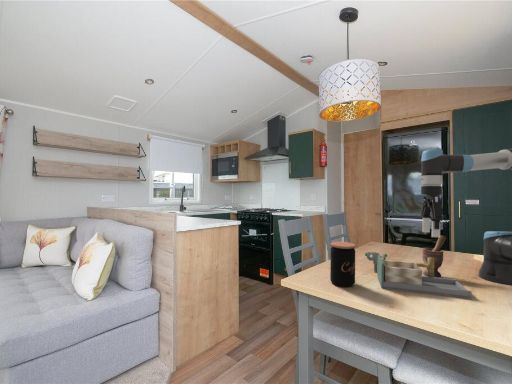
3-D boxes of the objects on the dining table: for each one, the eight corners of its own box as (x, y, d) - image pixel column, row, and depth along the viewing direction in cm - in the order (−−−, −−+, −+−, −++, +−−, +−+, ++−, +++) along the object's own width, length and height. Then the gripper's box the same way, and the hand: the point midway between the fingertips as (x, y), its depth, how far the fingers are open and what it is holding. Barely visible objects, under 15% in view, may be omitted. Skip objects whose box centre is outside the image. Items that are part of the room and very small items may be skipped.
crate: (429, 281, 117) (429, 255, 117) (438, 291, 106) (438, 262, 106) (381, 276, 124) (381, 251, 124) (384, 285, 112) (385, 257, 112)
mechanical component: (387, 273, 131) (387, 254, 130) (365, 272, 133) (365, 253, 133) (385, 272, 133) (385, 252, 133) (364, 270, 136) (364, 251, 135)
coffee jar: (342, 289, 109) (343, 247, 109) (325, 281, 119) (325, 242, 119) (360, 285, 114) (360, 245, 114) (342, 278, 124) (342, 240, 124)
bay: (456, 285, 115) (456, 261, 115) (471, 298, 101) (471, 271, 101) (377, 277, 125) (377, 255, 125) (381, 288, 111) (381, 263, 111)
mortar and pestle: (429, 270, 136) (429, 233, 136) (448, 275, 129) (448, 235, 128) (419, 275, 129) (419, 235, 129) (439, 280, 122) (439, 238, 122)
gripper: (414, 186, 124) (413, 229, 125) (430, 184, 101) (429, 238, 101) (432, 186, 122) (431, 230, 122) (453, 184, 98) (452, 240, 99)
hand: (430, 234), depth 112 cm, fingers open, 13 cm apart
